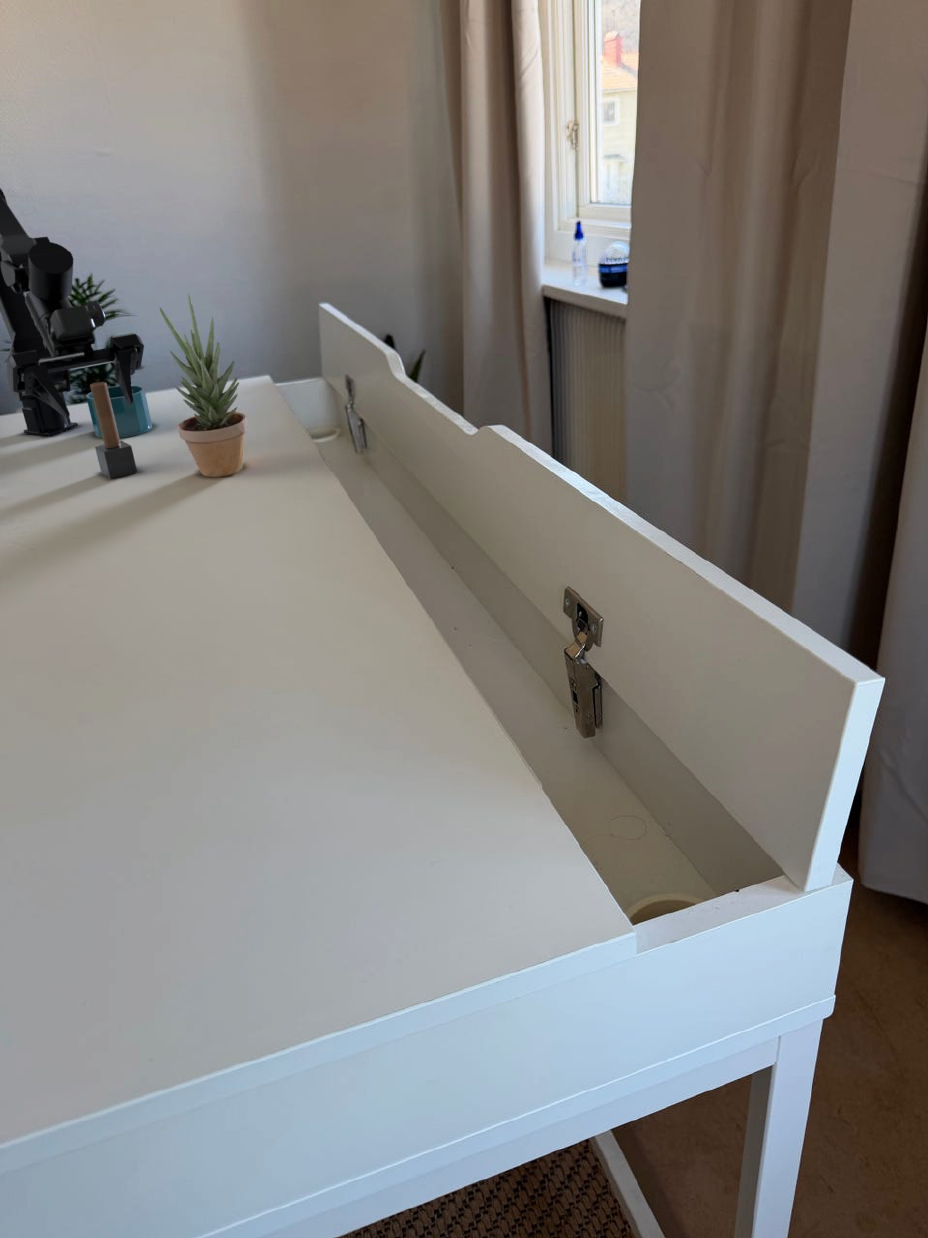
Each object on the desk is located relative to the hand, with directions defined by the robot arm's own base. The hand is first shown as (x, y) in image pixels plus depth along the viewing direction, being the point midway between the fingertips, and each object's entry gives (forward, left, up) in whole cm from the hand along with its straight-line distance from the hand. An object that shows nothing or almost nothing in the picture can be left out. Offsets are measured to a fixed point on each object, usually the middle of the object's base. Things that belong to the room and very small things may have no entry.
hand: (100, 409), depth 135 cm
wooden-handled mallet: (+1, +2, -9) cm, 9 cm away
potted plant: (-4, +17, -9) cm, 19 cm away
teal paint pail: (-17, -15, -9) cm, 25 cm away
